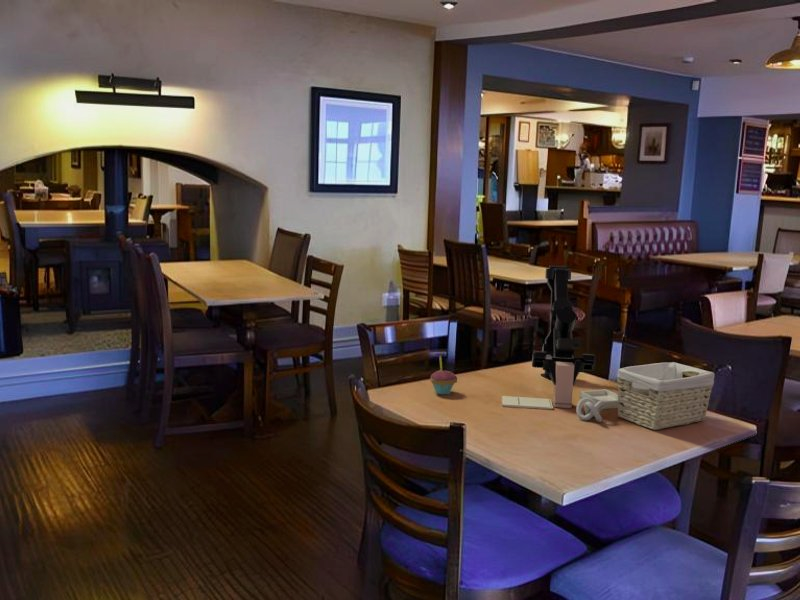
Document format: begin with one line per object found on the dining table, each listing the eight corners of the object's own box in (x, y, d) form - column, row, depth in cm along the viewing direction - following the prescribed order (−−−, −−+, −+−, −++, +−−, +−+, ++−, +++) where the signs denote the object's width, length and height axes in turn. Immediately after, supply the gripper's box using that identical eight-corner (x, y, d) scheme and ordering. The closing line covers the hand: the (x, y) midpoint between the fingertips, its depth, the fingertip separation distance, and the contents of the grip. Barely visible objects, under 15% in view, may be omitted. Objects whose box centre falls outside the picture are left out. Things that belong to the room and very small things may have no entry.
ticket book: (502, 397, 221) (502, 395, 221) (550, 400, 220) (550, 398, 219) (502, 406, 213) (502, 404, 212) (553, 409, 211) (553, 407, 211)
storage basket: (667, 406, 217) (671, 359, 215) (713, 422, 203) (718, 372, 201) (611, 417, 205) (614, 367, 203) (655, 434, 191) (660, 381, 189)
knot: (610, 424, 199) (611, 404, 198) (582, 424, 198) (584, 404, 197) (600, 416, 206) (601, 396, 205) (573, 416, 205) (575, 396, 204)
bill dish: (579, 397, 224) (579, 391, 223) (606, 395, 227) (606, 389, 227) (601, 409, 212) (602, 402, 212) (629, 406, 216) (630, 400, 215)
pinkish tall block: (553, 402, 217) (555, 361, 215) (569, 403, 217) (572, 362, 215) (554, 407, 213) (557, 365, 211) (571, 408, 212) (574, 366, 210)
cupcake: (424, 391, 226) (425, 355, 224) (442, 387, 231) (444, 351, 230) (443, 398, 219) (444, 360, 218) (462, 393, 225) (463, 356, 223)
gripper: (534, 325, 216) (534, 369, 207) (597, 328, 214) (600, 373, 205) (531, 344, 225) (531, 388, 216) (591, 348, 223) (594, 391, 214)
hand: (564, 384), depth 212 cm, fingers closed on pinkish tall block, 5 cm apart
